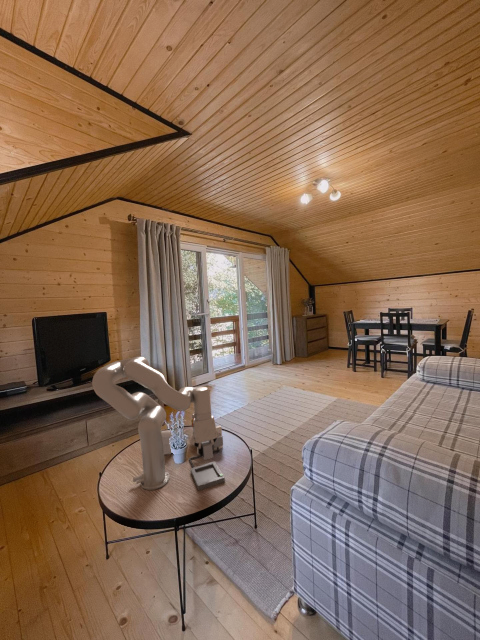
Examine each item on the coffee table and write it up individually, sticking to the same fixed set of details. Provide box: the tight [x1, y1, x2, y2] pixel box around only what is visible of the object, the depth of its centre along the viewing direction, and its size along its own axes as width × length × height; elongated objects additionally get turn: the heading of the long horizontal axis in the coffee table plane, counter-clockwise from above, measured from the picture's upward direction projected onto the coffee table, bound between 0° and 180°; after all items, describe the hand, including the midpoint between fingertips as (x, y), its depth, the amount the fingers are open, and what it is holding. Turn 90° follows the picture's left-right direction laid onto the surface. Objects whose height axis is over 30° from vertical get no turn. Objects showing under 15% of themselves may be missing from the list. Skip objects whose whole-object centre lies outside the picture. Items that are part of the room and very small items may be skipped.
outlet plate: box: [196, 425, 224, 456], centre depth 144 cm, size 14×6×12 cm, turn 114°
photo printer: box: [161, 430, 172, 456], centre depth 146 cm, size 10×4×12 cm, turn 98°
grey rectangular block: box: [201, 441, 214, 461], centre depth 123 cm, size 4×7×6 cm, turn 24°
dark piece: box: [188, 447, 220, 468], centre depth 137 cm, size 16×11×4 cm
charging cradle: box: [190, 461, 226, 491], centre depth 124 cm, size 12×14×2 cm
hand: (206, 453), depth 123 cm, fingers closed on grey rectangular block, 4 cm apart
